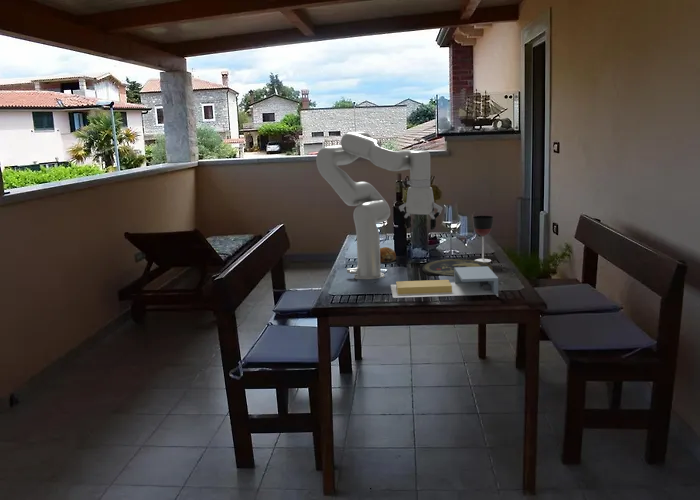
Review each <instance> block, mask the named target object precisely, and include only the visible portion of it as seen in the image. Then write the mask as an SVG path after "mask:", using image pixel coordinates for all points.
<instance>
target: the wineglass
mask: <svg viewBox="0 0 700 500" xmlns="http://www.w3.org/2000/svg"><path fill="white" fill-rule="evenodd" d="M472 221H473V228H474V229H473V230H474V232H475V233H476V234H478V235H479V236H481V241H482V242H481V250H482V251H481V258H477V259H474V260H475V261H481V262H485V263H490V262H492V260H491V259H490V258H489V259H488V258H485V257H484V256H485V253H484V252H485V245H484V244H485V241H484V240H485V236H487V235H489V234H490V233H491V232H492V229H493V223H494V216H492V215H475V216H473V217H472Z"/></svg>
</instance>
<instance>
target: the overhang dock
mask: <svg viewBox="0 0 700 500" xmlns="http://www.w3.org/2000/svg"><path fill="white" fill-rule="evenodd" d="M453 277H454V282H450V283H451V285H452V292H443V293H413V294H398V293H397V288H396V284H390V289H391V295H392V298H393V299H394V298H395V299H396V298H397V299H398V298H423V297H424V298H426V297H427V298H428V297H430V298H431V297H450V296H451V297H455V296H457V297H458V296H459V297H460V296H483V295H484V296H487V295H495V296H496V297H498V298H499V277H498V276H497V274H496V273H495V272H494V270H493V271H492V270H491V269H490V268H489V267H488V266H485V267H456V268H454V276H453Z"/></svg>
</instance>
